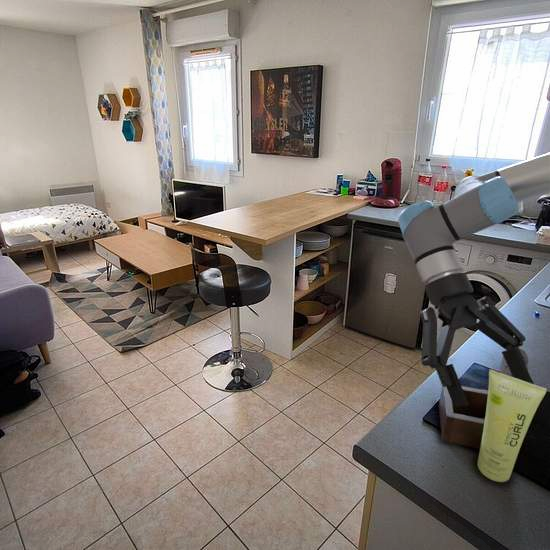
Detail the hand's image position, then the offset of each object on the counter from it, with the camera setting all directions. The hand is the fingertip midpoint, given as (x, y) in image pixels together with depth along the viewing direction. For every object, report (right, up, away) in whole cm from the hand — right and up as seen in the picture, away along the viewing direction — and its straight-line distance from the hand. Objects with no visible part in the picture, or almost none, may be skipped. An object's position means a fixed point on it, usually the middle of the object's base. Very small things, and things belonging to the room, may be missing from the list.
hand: (495, 396), depth 60 cm
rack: (+1, -10, +11) cm, 15 cm away
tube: (+1, -14, +3) cm, 14 cm away
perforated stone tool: (+17, -5, +22) cm, 28 cm away
